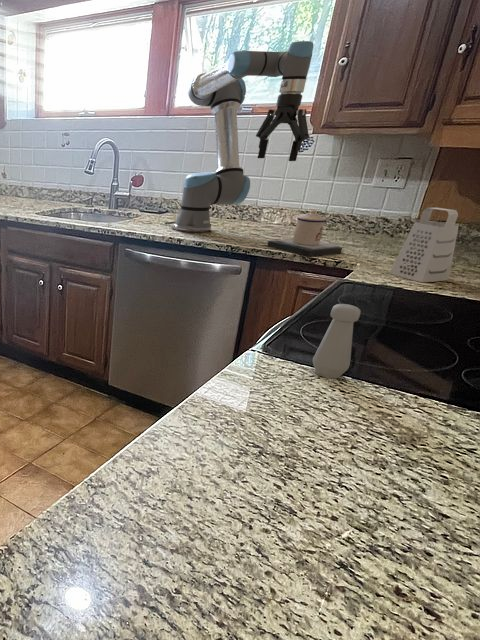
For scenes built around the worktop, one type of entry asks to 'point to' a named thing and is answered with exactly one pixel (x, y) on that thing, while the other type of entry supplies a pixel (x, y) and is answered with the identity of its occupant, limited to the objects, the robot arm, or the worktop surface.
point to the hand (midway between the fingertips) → (276, 159)
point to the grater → (428, 249)
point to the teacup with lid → (309, 228)
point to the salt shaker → (336, 342)
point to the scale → (305, 248)
